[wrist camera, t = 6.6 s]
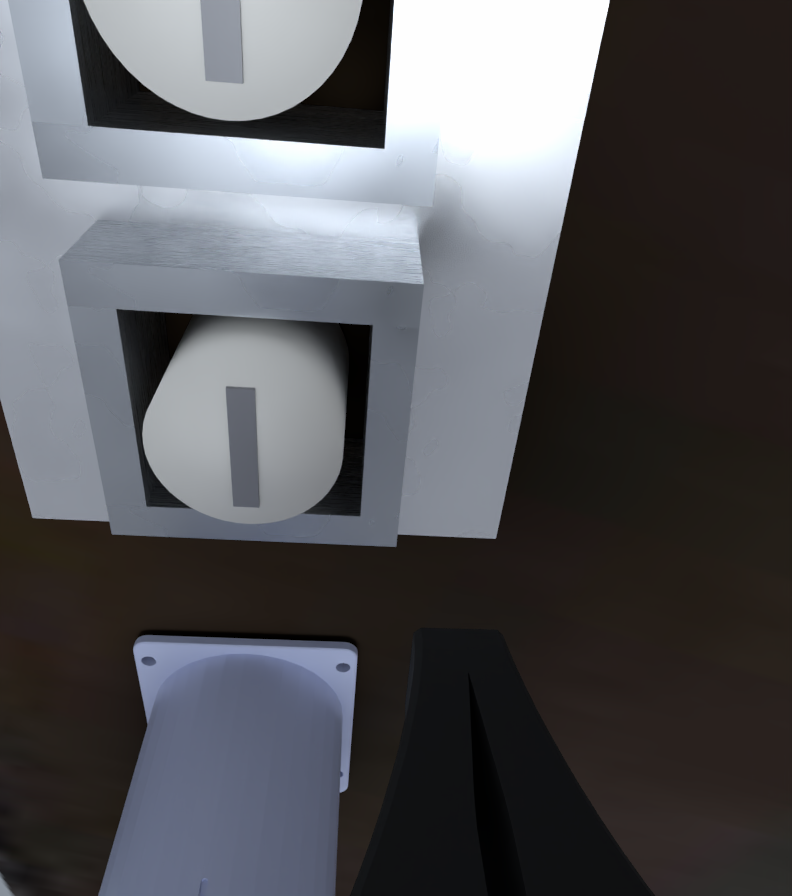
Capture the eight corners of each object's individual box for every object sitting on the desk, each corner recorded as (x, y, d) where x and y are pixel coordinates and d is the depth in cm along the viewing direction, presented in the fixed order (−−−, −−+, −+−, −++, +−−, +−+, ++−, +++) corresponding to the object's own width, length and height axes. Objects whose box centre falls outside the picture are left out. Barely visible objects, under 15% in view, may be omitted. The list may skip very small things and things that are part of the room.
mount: (491, 517, 24) (507, 598, 21) (45, 496, 23) (-3, 578, 20) (678, -407, 12) (772, -512, 9) (-215, -521, 11) (-418, -675, 8)
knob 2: (345, 430, 21) (339, 530, 18) (191, 422, 21) (153, 522, 17) (352, 286, 19) (347, 370, 15) (176, 274, 18) (128, 357, 15)
